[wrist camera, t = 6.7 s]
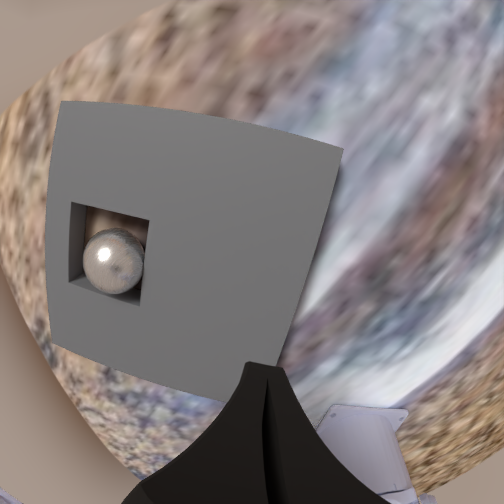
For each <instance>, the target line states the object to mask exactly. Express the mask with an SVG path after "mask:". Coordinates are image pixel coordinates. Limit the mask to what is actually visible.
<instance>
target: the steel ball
mask: <svg viewBox="0 0 504 504" xmlns="http://www.w3.org/2000/svg"><path fill="white" fill-rule="evenodd" d="M144 259H145V252H144V249H143V247H142V245H141V243H140V242H139V240H138V239H137V238H136V237H135V236H134V235H133V234H131V233H130V232H128V231H126V230H124V229H120V228H108V229H104V230H102V231H100V232H98V233H96V234H95V235H94V236H93V237H92V238H91V239H90V240H89V242H88V243H87V245H86V247H85V250H84V253H83V268H84V271H85V274H86V276H87V278H88V280H89V281H90V282H91V284H92V285H93V286H94V287H96V288H97V289H98V290H100V291H102V292H105V293H109V294H120V293H124V292H127V291H129V290H130V289H132V288H133V287H134V286H135V285H136V284H137V283H138V282H139V281H140V279H141V278H142V276H143V268H144Z"/></svg>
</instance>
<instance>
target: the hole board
mask: <svg viewBox="0 0 504 504" xmlns="http://www.w3.org/2000/svg"><path fill="white" fill-rule="evenodd" d="M343 150H344V149H343V148H340V147H337V146H333V145H330V144H327V143H323V142H320V141H317V140H313V139H310V138H306V137H303V136H299V135H295V134H291V133H288V132H284V131H280V130H276V129H272V128H268V127H263V126H259V125H255V124H250V123H246V122H241V121H236V120H231V119H226V118H221V117H216V116H210V115H204V114H199V113H192V112H186V111H179V110H173V109H165V108H157V107H149V106H140V105H130V104H118V103H104V102H86V101H61V104H60V109H59V114H58V119H57V124H56V129H55V135H54V141H53V147H52V154H51V161H50V169H49V178H48V189H47V202H46V222H45V268H46V288H47V301H48V312H49V321H50V329H51V336H52V343H54V344H56V345H58V346H60V347H63V348H65V349H67V350H69V351H71V352H74V353H76V354H78V355H81V356H83V357H85V358H88V359H90V360H93V361H95V362H98V363H100V364H103V365H105V366H108V367H110V368H113V369H116V370H118V371H121V372H124V373H127V374H129V375H132V376H135V377H138V378H141V379H144V380H147V381H150V382H153V383H157V384H160V385H163V386H166V387H170V388H173V389H176V390H180V391H183V392H187V393H191V394H195V395H198V396H202V397H206V398H210V399H214V400H219V401H223V402H228V401H229V399H230V398H231V396H232V394H233V393H234V391H235V389H236V387H237V386H238V384H239V381H240V378H241V375H242V372H243V368H244V365H245V363H246V362H248V361H251V362H256V363H260V364H265V365H270V366H276V364H277V361H278V358H279V356H280V353H281V350H282V347H283V345H284V342H285V339H286V336H287V334H288V331H289V328H290V325H291V322H292V319H293V316H294V314H295V311H296V308H297V305H298V302H299V299H300V296H301V293H302V290H303V287H304V284H305V281H306V278H307V275H308V271H309V268H310V265H311V262H312V259H313V256H314V252H315V249H316V246H317V243H318V239H319V236H320V233H321V229H322V226H323V223H324V219H325V216H326V212H327V209H328V205H329V202H330V198H331V195H332V191H333V188H334V184H335V180H336V177H337V173H338V169H339V165H340V161H341V158H342V154H343ZM87 205H88V206H92V207H96V208H101V209H105V210H109V211H113V212H117V213H122V214H126V215H130V216H134V217H138V218H142V219H147V220H150V221H149V228H148V235H147V243H146V250H145V259H144V268H143V277H142V288H141V291H140V290H137V289H134V288H132V289H130V290H129V291H127V292H124V293H120V294H109V293H105V292H102V291H100V290H98V289H97V288H96V287H94V286H93V285H92V284H91V282H90V281H89V280H88V278H87V276H86V274H85V273H84V272H83V253H84V235H85V221H86V209H87Z"/></svg>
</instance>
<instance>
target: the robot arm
mask: <svg viewBox="0 0 504 504" xmlns="http://www.w3.org/2000/svg"><path fill="white" fill-rule="evenodd" d="M408 414H409V412H408V410H406V409H385V408H368V407H355V406H345V405H333V406H331V407H330V408H329V410H328V411H327V413H326V415H325V417H324V418H323V420H322V422H321V423H320V425H319V426H318V428H317V430H316V431H315V429H314V428H313V426H312V424H311V423H310V421H309V420H308V418H307V416H306V414H305V413H304V411H303V409H302V407H301V405H300V403H299V402H298V400H297V398H296V396H295V394H294V391H293V389H292V387H291V385H290V383H289V380H288V378H287V376H286V373H285V371H284V369H283V368H280V367H275V366H270V365H265V364H260V363H256V362H251V361H248V362H246V363H245V365H244V368H243V372H242V375H241V378H240V381H239V384H238V386H237V387H236V389H235V391H234V393H233V394H232V396H231V398H230V399H229V401H228V402H227V404H226V405H225V407H224V408H223V409H222V411H221V412H220V414H219V415H218V416H217V417H216V419H215V420H214V421H213V422H212V423H211V425H210V426H209V427H208V428H207V429H206V430H205V431H204V432H203V433H202V434H201V435H200V436H199V437H198V438H197V439H196V440H195V441H194V442H193V443H192V444H191V445H190V446H189V447H188V448H187V449H186V450H185V451H183V452H182V453H181V454H180V455H178V456H177V457H176V458H175V459H173V460H172V461H171V462H169V463H168V464H167V465H165V466H164V467H163V468H161V469H160V470H158V471H156V472H155V473H153V474H152V475H150V476H149V477H147V478H145V479H144V480H142V481H141V482H139V484H138V485H137V486H136V487H135V488H134V489H133V490H132V491H131V492H130V493H129V495H128V496H127V497H126V498H125V499H124V501H123V502H122V503H121V504H419V501H418V498H417V495H416V492H415V489H414V488H413V486H412V483H411V480H410V477H409V473H408V470H407V467H406V465H405V462H404V459H403V456H402V453H401V450H400V447H399V444H398V441H397V439H396V436H395V432H396V430H397V429H398V428H399V426H400V425H401V424H402V422H403V421H404V420H405V418H406V417H407V416H408ZM419 497H420V500H421V503H422V504H437V501H436V499H435V497H434V496H432V495H428V494H427V493H424V494H422V495H420V496H419ZM0 504H23V503H21V502H20V501H18V500H16V499H15V498H14V497H13V496H11V495H10V494H8V493H7V492H6V491H4V490H3V489H1V488H0Z"/></svg>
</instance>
